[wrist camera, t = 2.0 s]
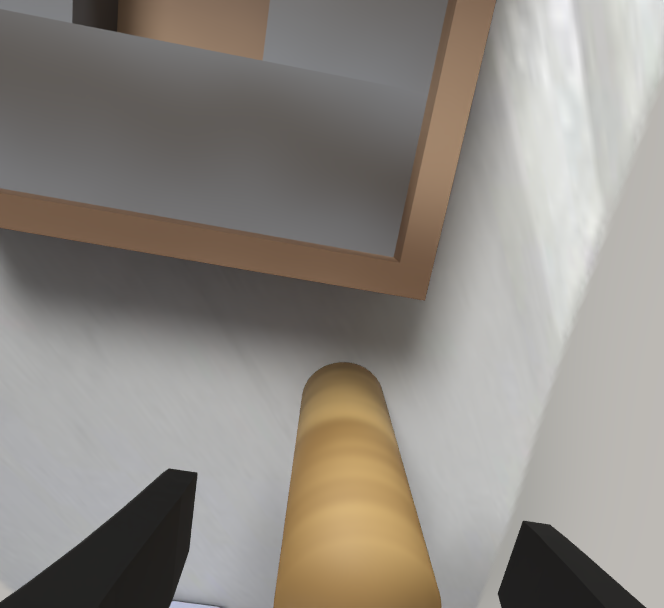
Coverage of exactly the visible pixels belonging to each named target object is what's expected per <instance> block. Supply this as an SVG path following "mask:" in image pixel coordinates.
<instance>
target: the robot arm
mask: <svg viewBox="0 0 664 608" xmlns="http://www.w3.org/2000/svg"><path fill="white" fill-rule="evenodd" d="M196 483H197V473H196V472H189V471H183V470H176V469H168V470H166V471H165V472H163V473H162V474H161V475H160V476H159V477H157V478H156V479H155V480H154V481H153V482H152V483H151V484H150V485H148V486H147V487H146V488H145V489H144V490H143V491H142V492H141V493H139V494H138V495H137V496H136V497H135V498H134V499H133V500H131V501H130V502H129V503H128V504H127V505H126V506H124V507H123V508H122V509H121V510H120V511H119V512H117V513H116V514H115V515H114V516H113V517H111V518H110V519H109V520H108V521H106V522H105V523H104V524H103V525H102V526H100V527H99V528H98V529H97V530H95V531H94V532H93V533H92V534H91V535H89V536H88V537H87V538H86V539H84V540H83V541H82V542H81V543H79V544H78V545H77V546H76V547H74V548H73V549H72V550H70V551H69V552H68V553H66V554H65V555H64V556H62V557H61V558H60V559H58V560H57V561H56V562H54V563H53V564H52V565H50V566H49V567H48V568H46V569H45V570H44V571H42V572H41V573H40V574H39V575H37V576H36V577H35V578H33V579H32V580H31V581H29V582H28V583H26V584H25V585H24V586H22V587H21V588H20V589H18V590H17V591H15V592H14V593H12V594H11V595H10V596H8V597H7V598H5V599H4V600H3V601H1V602H0V608H220V607H216V606H209V605H201V604H193V603H186V602H178V601H172V599H173V597H174V594H175V591H176V588H177V585H178V582H179V579H180V576H181V573H182V570H183V567H184V564H185V561H186V558H187V555H188V552H189V547H190V538H191V528H192V519H193V510H194V501H195V492H196ZM498 596H499V600H500V604H501V607H502V608H646V607H645V606H644V605H642V604H641V603H640V602H639V601H638V600H637V599H636V598H634V597H633V596H632V595H631V594H630V593H629V592H628V591H627V590H625V589H624V588H623V587H622V586H621V585H620V584H619V583H617V582H616V581H615V580H614V579H613V578H612V577H611V576H609V575H608V574H607V573H606V572H605V571H604V570H602V569H601V568H600V567H599V566H598V565H597V564H596V563H595V562H594V561H592V560H591V559H590V558H589V557H588V556H587V555H586V554H584V553H583V552H582V551H581V550H580V549H579V548H577V547H576V546H575V545H574V544H573V543H572V542H570V541H569V540H568V539H567V538H566V537H565V536H563V535H562V534H561V533H560V532H558V531H557V530H556V529H555V528H553V527H552V526H551V525H548V524H542V523H535V522H528V521H523V522H522V525H521V528H520V531H519V534H518V537H517V540H516V542H515V545H514V548H513V551H512V554H511V557H510V560H509V563H508V565H507V568H506V571H505V574H504V577H503V580H502V583H501V586H500V588H499V591H498Z"/></svg>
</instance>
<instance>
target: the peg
mask: <svg viewBox="0 0 664 608" xmlns="http://www.w3.org/2000/svg"><path fill="white" fill-rule="evenodd" d="M273 608H441V597H440V594H439V590H438V586H437V583H436V579H435V576H434V572H433V569H432V565H431V562H430V558H429V555H428V551H427V547H426V544H425V540H424V537H423V533H422V530H421V526H420V523H419V519H418V516H417V512H416V508H415V505H414V501H413V498H412V494H411V491H410V487H409V484H408V480H407V477H406V473H405V469H404V466H403V462H402V459H401V455H400V452H399V448H398V445H397V441H396V438H395V434H394V430H393V427H392V423H391V420H390V416H389V413H388V409H387V406H386V402H385V398H384V395H383V391H382V388H381V385H380V383H379V382H378V380H377V378H376V377H375V376H374V375H373V374H372V373H371V372H370V371H368V370H367V369H366V368H364V367H362V366H360V365H357V364H353V363H347V362H339V363H333V364H329V365H327V366H324V367H322V368H321V369H319V370H318V371H316V372H315V373H314V374H313V375H312V376H311V377H310V378H309V380H308V381H307V383H306V385H305V387H304V390H303V394H302V401H301V408H300V415H299V423H298V430H297V437H296V445H295V452H294V459H293V466H292V474H291V481H290V488H289V496H288V503H287V510H286V518H285V525H284V532H283V540H282V547H281V554H280V562H279V569H278V576H277V583H276V591H275V598H274V607H273Z"/></svg>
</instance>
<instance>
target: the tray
mask: <svg viewBox="0 0 664 608" xmlns="http://www.w3.org/2000/svg"><path fill="white" fill-rule="evenodd" d="M495 3H496V0H0V228H4V229H10V230H16V231H22V232H27V233H33V234H39V235H45V236H51V237H57V238H63V239H68V240H74V241H80V242H86V243H92V244H98V245H103V246H109V247H115V248H121V249H127V250H133V251H138V252H144V253H150V254H156V255H162V256H168V257H174V258H179V259H185V260H191V261H197V262H203V263H209V264H214V265H220V266H226V267H232V268H238V269H244V270H250V271H255V272H261V273H267V274H273V275H279V276H285V277H290V278H296V279H302V280H308V281H314V282H320V283H325V284H331V285H337V286H343V287H349V288H355V289H361V290H366V291H372V292H378V293H384V294H390V295H396V296H401V297H407V298H413V299H419V300H425V298H426V294H427V290H428V285H429V281H430V277H431V273H432V269H433V264H434V260H435V256H436V252H437V247H438V243H439V239H440V235H441V231H442V226H443V222H444V218H445V214H446V210H447V205H448V201H449V197H450V193H451V189H452V184H453V180H454V176H455V172H456V167H457V163H458V159H459V155H460V151H461V146H462V142H463V138H464V134H465V130H466V125H467V121H468V117H469V113H470V108H471V104H472V100H473V96H474V92H475V87H476V83H477V79H478V75H479V71H480V66H481V62H482V58H483V54H484V50H485V45H486V41H487V37H488V33H489V28H490V24H491V20H492V16H493V12H494V7H495Z"/></svg>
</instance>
